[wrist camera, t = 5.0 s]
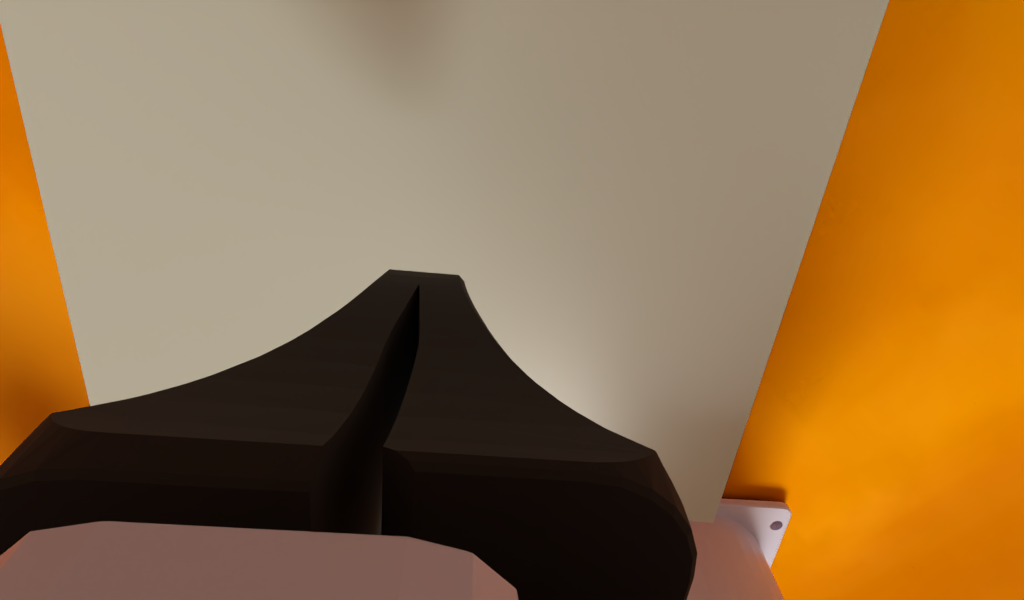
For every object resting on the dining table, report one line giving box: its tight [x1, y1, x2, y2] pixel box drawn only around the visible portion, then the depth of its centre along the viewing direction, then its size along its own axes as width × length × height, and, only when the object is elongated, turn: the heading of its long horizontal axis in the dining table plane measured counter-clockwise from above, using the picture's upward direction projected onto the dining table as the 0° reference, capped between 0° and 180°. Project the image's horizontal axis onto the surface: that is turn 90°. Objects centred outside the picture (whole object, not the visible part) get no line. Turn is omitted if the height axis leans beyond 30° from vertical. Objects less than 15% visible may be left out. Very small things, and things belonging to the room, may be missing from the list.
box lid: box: [0, 0, 889, 523], centre depth 16 cm, size 17×18×1 cm
